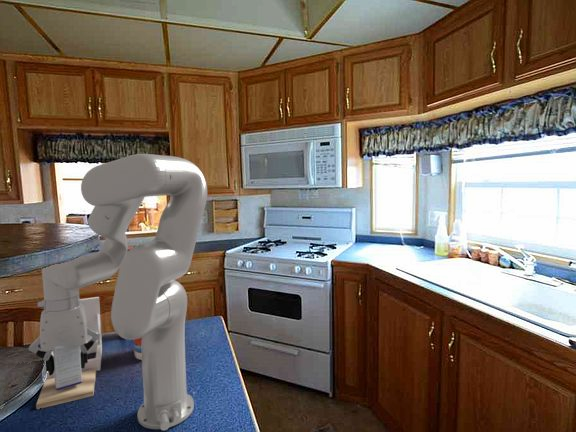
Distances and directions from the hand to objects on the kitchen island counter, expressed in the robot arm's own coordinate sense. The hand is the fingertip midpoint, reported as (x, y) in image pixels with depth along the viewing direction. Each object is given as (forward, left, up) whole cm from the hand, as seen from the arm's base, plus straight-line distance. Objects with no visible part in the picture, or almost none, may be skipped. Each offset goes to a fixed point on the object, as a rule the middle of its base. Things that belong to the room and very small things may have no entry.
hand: (67, 368), depth 91 cm
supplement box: (0, 0, -4) cm, 4 cm away
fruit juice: (+11, -21, -6) cm, 24 cm away
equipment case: (+14, 0, -6) cm, 15 cm away
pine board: (0, 0, -6) cm, 6 cm away
